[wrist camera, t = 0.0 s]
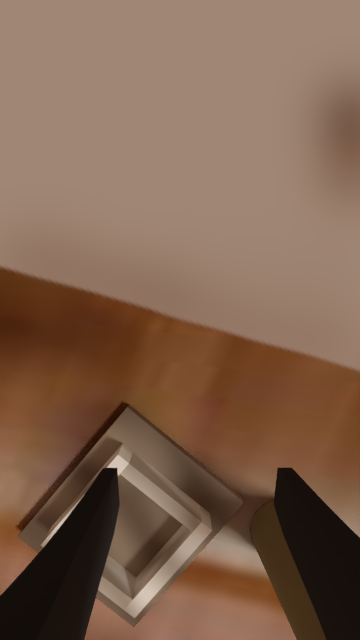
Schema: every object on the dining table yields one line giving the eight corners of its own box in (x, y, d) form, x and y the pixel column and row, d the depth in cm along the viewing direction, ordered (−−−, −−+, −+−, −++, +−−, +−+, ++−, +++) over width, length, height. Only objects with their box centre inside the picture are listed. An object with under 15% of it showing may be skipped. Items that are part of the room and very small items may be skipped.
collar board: (135, 617, 21) (129, 653, 19) (22, 530, 21) (3, 556, 19) (242, 497, 21) (249, 519, 18) (128, 404, 20) (122, 415, 18)
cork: (237, 536, 21) (302, 787, 10) (275, 486, 21) (384, 687, 10) (287, 570, 21) (406, 855, 10) (325, 522, 21) (488, 758, 10)
